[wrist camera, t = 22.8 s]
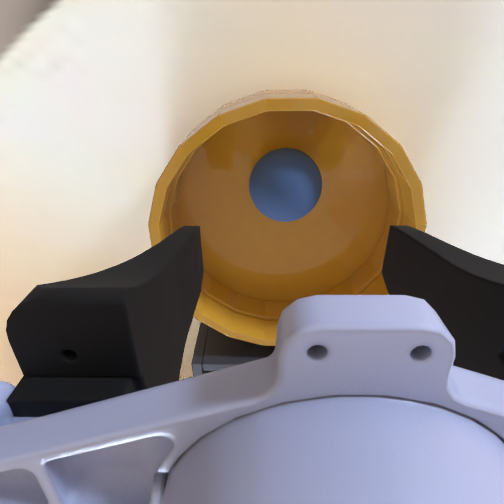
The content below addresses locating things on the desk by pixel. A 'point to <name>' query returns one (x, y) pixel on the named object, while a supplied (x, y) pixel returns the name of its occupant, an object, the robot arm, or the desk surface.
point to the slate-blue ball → (285, 184)
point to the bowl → (293, 232)
